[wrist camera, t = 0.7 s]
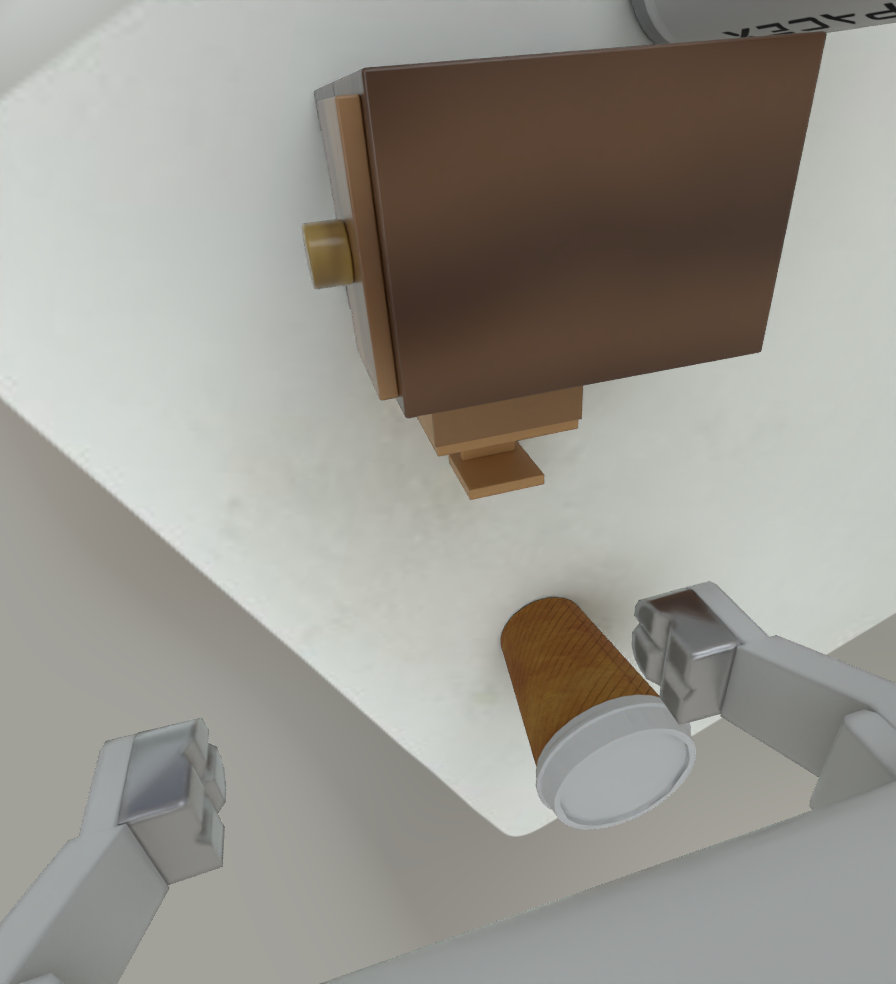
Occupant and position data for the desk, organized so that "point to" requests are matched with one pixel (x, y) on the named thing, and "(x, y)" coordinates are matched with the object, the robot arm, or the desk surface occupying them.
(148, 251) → the desk surface
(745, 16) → the travel mug
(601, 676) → the disposable coffee cup
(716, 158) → the drawer unit
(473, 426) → the wooden drawer
